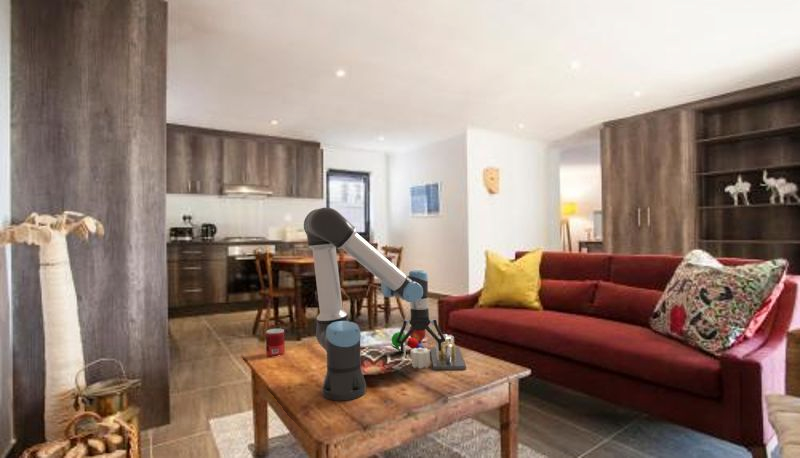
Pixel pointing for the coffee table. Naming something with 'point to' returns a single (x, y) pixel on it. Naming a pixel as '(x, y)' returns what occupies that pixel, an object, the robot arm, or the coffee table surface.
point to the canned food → (275, 342)
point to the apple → (418, 334)
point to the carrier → (448, 356)
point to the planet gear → (420, 357)
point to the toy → (410, 342)
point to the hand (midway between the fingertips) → (421, 359)
